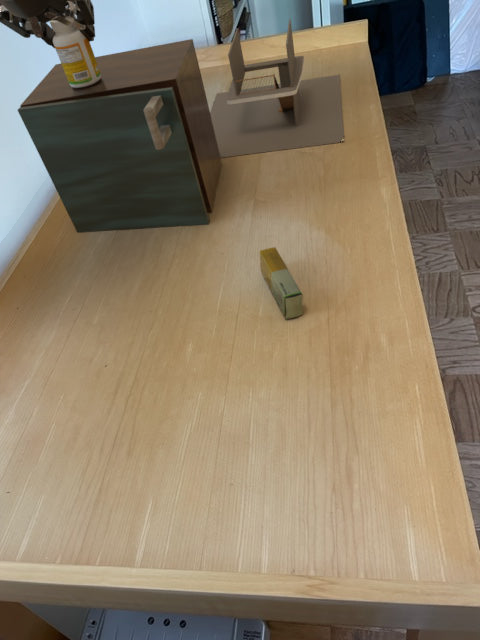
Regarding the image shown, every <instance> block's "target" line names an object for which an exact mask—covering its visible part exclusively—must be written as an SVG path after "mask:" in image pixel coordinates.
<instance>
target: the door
mask: <svg viewBox="0 0 480 640" xmlns="http://www.w3.org/2000/svg"><path fill="white" fill-rule="evenodd" d="M17 113H18V114H19V117H20V118H21V120H22V122H23V125H24V127H25V129H26V130H27V133H28V135H29V137H30V139H31V141H32V143H33V146H34V147H35V150H36V151H37V153H38V155H39V158H40V159H41V161H42V164H43V166H44V167H45V169H46V172H47V174H48V175H49V178H50V180H51V182H52V184H53V186H54V188H55V190H56V192H57V194H58V197H59V198H60V200H61V203H62V204H63V206H64V209H65V211H66V212H67V215H68V217H69V219H70V221H71V223H72V225H73V227H74V229H75V231H76V233H88V232H107V231H122V230H123V231H124V230H138V229H152V228H170V227H171V228H172V227H187V226H188V227H189V226H202V225H209V224H210V218H209V213H207V210H206V206H205V203H204V199H203V195H202V192H201V188H200V184H199V181H198V177H197V174H196V170H195V166H194V163H193V159H192V155H191V152H190V148H189V145H188V141H187V137H186V134H185V130H184V126H183V123H182V119H181V116H180V112H179V108H178V105H177V101H176V98H175V94H174V90H173V87H169V88H162V89H154V90H147V91H139V92H132V93H124V94H117V95H109V96H101V97H94V98H86V99H79V100H71V101H64V102H56V103H49V104H41V105H34V106H26V107H20V106H19V108H17Z"/></svg>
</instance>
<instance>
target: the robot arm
mask: <svg viewBox="0 0 480 640" xmlns="http://www.w3.org/2000/svg"><path fill="white" fill-rule="evenodd" d="M94 8H95V7H94V4H93V2H92V0H0V23H1V25H4V26H5V27H7V28H9V29H10V30H12V31H13V32H15V33H16V34H18V35H20V36H21V37H23V38H25V39H29V38H31V36H32V35H33V36H34V37H36V38H37V39H41V40H42V41H43V42H45V44H46V45H48V46H51V47H52V48H53V49H55V47H54V44H53V37H54V36H55V35H56V33H55V32H54V31H53V29H52V27H51V25H49V24H48V23H50V21H56V20H57V21H59V22H60V23H62V24H64V25H66V26H69V25H72V26H74V27H76V28H78V29H79V31H80V32H81V33H82V34H83V35H84V36H85V38H86V39H87V40H88V41H89V42H90V43H91V42H94V41H95V38H96V27H95V24H96V23H95V21H96V20H95V9H94ZM74 14H75V16H76V18H75V17H74Z"/></svg>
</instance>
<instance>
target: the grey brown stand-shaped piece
mask: <svg viewBox="0 0 480 640" xmlns="http://www.w3.org/2000/svg"><path fill="white" fill-rule="evenodd" d="M292 29H293V28H292V21H291V18H289V19H288V25H287V33H286V39H285V40H286V41H285V48H286V56H287V57H285V58H279V59H273V60H265V61H261V62H254V63H249V64H245V60H244V54H243V48H242V44H241V37H240V32H239V28H236V29H235V32H234V35H233V38H232V41H231V44H230V46H229V50H228V53H227V57H228V62H229V66H230V67H229V68H230V71H231V76H232V80H231V83H230V86H229V90H228V91H223V92H218V93H216V94H215V97H214V100H213V104H212V106H211V110H210V115H211V119H212V123H213V128H214V132H215V136H216V140H217V145H218V149H219V153H220V157H221V159H222V158H229V157H236V156H244V155H252V154H260V153H268V152H276V151H283V150H289V149H291V150H292V149H299V148H306V147H314V146H315V147H316V146H323V145H330V144H331V145H332V144H339V143H343V142H342V141H341V140H342V139H344V140H345V128H344V127H345V126H344V114H343V101H342V100H343V99H342V88H341V87H342V84H341V74H334V75H333V74H332V75H328V76H327V75H326V76H321V77H314V78H308V79H303V72H304V64H305V56H304V55H295V46H294V37H293V30H292ZM273 68H277V69H278V76H279V83H278V80H277V77H276V75H275V73H273V74H269V75H263V76H257V77H251V78H245V76H246V73H248V72H255V71H261V70H268V69H273ZM272 77H273V80H272ZM252 85H253V86H252ZM343 136H344V138H343ZM340 141H341V142H340Z"/></svg>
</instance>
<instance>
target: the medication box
mask: <svg viewBox="0 0 480 640" xmlns="http://www.w3.org/2000/svg"><path fill="white" fill-rule="evenodd" d="M259 263H260V272H261V274H262V276H263V278H264V281H265V282H266V284H267V286H268V288H269V290H270V292H271V294H272V296H273V298H274V300H275V302H276V304H277V306H278V308H279V310H280V311H281V314H282V315H283V317H284V319H285V320H292V319H296V317H297V318H299V317H302V316H303V300H304V299H303V297H304V296H303V292H302V291H301V289H300V287H299V285H298V284H297V282H296V281H295V279H294V276H293V275H292V273H291V271H290V270H289V268H288V266H287V264H286V263H285V261H284V259H283V258H282V256H281V254H280V253H279V251H278V249H277V248H276V247H275V246H274V247H268V248H264V249H261V250H259ZM301 315H302V316H301Z"/></svg>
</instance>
